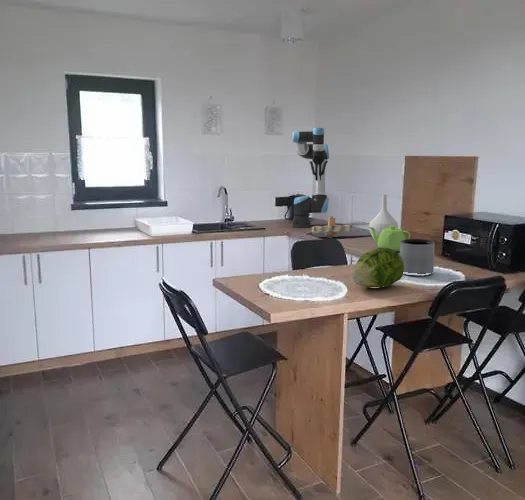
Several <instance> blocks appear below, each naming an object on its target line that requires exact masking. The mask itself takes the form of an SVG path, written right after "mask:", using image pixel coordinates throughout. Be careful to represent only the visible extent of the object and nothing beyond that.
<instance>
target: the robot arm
mask: <svg viewBox="0 0 525 500" xmlns="http://www.w3.org/2000/svg"><path fill="white" fill-rule="evenodd" d="M291 137H292V143H295V144H296V148H295V150H296V153H297V155H299V157H301V158H303V159H306V160H310V161H308V163H309V164H310V169H311V173H312V175H313V194H312V195H311V197H310V195H304V196H303V195H302V196H301V195H300V196H297V197H294V200H293V219H292V222H291V228H296V229H297V228H299V229H302V228H303V229H305V228H312V222H311V218H310V214H323V213H324V214H326V213H327V212H328V210H329V209H328V208H329V200H330V198H329V197H328V194H326V167H327V163H328V160H329V159H330V154H329V146H328V144H326V143H325V128H324V127H314V128H313V129H312V131H311V130H309V131H308V130H307V131H305V130H304V131H299V130H297V131H293V132H292V136H291Z"/></svg>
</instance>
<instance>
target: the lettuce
mask: <svg viewBox="0 0 525 500" xmlns="http://www.w3.org/2000/svg"><path fill="white" fill-rule="evenodd" d="M403 272H404V263H403V260H402V258H401V256H400V253H398V252H396V251H394V250H393V249H390V248H379V247H378V248H375V249H373V250H371V251H367V252H365V253H363V254H362V255H361V256H360V257H359V259H358V260H357V262H356V263H355V265H354V267H353V269H352V272H351V279H352V281H353V282H354V283H355V284H356V285H358V286H359V287H360V286H361V287H364V286H365V287H364V288H367V287H383V286H388V287H391V286H392V285H393V284H395V283H397V282H398V281H400V280H401V279H402V278H403V275H404V274H403Z"/></svg>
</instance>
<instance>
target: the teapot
mask: <svg viewBox="0 0 525 500" xmlns="http://www.w3.org/2000/svg"><path fill="white" fill-rule="evenodd" d="M389 227H390V228H385V229H383V230H382V232H381V234H380V236H379V237H378V236H377V235H376V231H375V229H374V228H373V227H369V226H368V229H369V228H370V229H371V230H372V233H373V237H372V238H373V240H374V242H375V243H376V245H377V247H378V248H390V249H393V250H394V251H396V252H397V253H398V252H400V241H402V240H405V239H411V232H410V231H408V230H403V229H402V228H399V227H398V228H396V226H389ZM405 233H406V234H407V236H408V237H407V238H406V235H405Z"/></svg>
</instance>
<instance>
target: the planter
mask: <svg viewBox="0 0 525 500" xmlns="http://www.w3.org/2000/svg"><path fill="white" fill-rule="evenodd" d="M435 244H436V243H435V241H433V240H430V239H425V238H423V239H421V238H410V239H408V238H406V239H405V240H402V241H400V251H399V255H400V256H401V258H402V260H403V263H404V272H408V273H417V274H426V273H432V272H433V273H434V271H435V270H434V268H435V267H434V266H435ZM433 273H432V274H433Z"/></svg>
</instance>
